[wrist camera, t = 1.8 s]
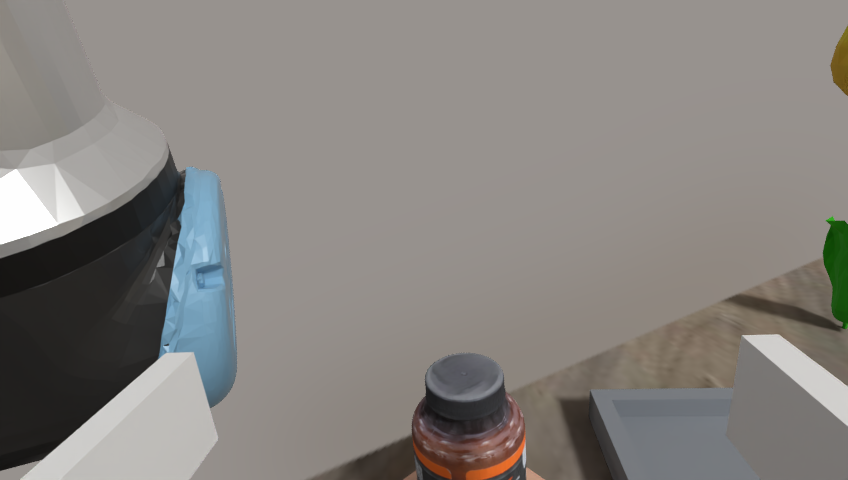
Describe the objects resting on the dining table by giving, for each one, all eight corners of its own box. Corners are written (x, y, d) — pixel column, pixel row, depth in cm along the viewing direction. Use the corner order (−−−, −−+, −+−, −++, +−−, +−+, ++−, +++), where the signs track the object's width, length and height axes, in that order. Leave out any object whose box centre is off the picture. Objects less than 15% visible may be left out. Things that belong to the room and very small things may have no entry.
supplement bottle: (546, 528, 26) (547, 363, 22) (493, 621, 21) (484, 435, 18) (462, 478, 29) (452, 331, 26) (403, 549, 25) (381, 384, 21)
